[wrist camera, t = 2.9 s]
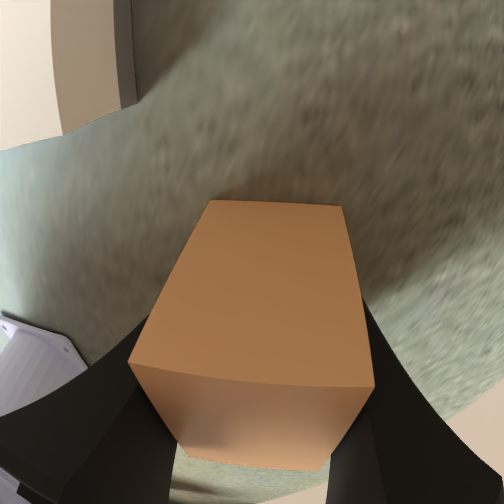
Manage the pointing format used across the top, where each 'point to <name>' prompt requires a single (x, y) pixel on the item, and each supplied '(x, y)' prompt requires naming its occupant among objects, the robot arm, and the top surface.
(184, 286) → the tan cardboard box
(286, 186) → the top surface
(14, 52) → the white slotted slab
